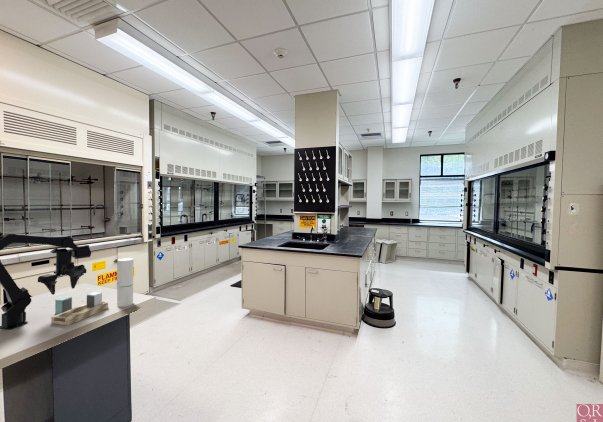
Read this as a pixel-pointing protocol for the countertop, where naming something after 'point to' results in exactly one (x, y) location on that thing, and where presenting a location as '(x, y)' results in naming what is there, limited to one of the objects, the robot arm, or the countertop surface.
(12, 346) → the countertop surface
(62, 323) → the wooden tray
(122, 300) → the cylindrical container
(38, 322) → the countertop surface
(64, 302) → the teal block
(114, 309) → the countertop surface
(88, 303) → the grey rectangular block
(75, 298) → the countertop surface
